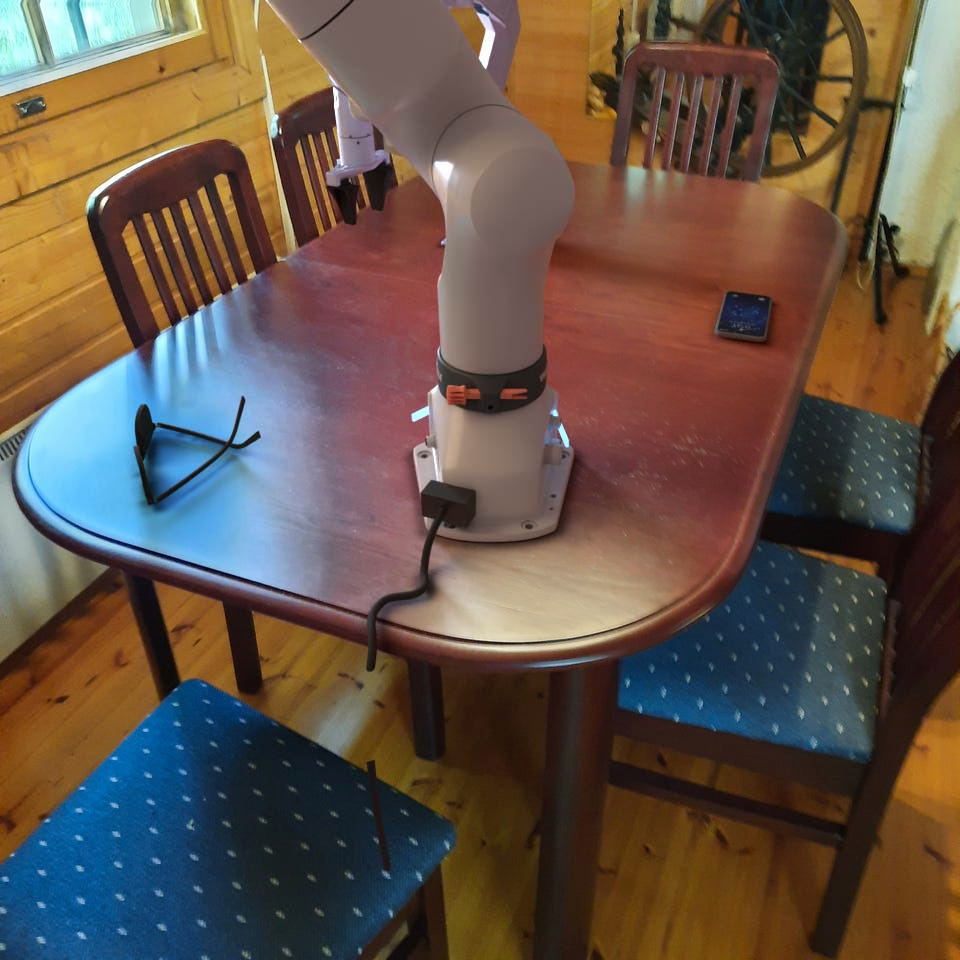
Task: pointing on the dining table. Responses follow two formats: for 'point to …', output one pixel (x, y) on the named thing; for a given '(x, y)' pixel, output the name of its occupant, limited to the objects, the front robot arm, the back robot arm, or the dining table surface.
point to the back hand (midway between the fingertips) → (364, 216)
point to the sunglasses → (147, 427)
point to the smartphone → (744, 316)
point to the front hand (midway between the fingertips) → (406, 139)
